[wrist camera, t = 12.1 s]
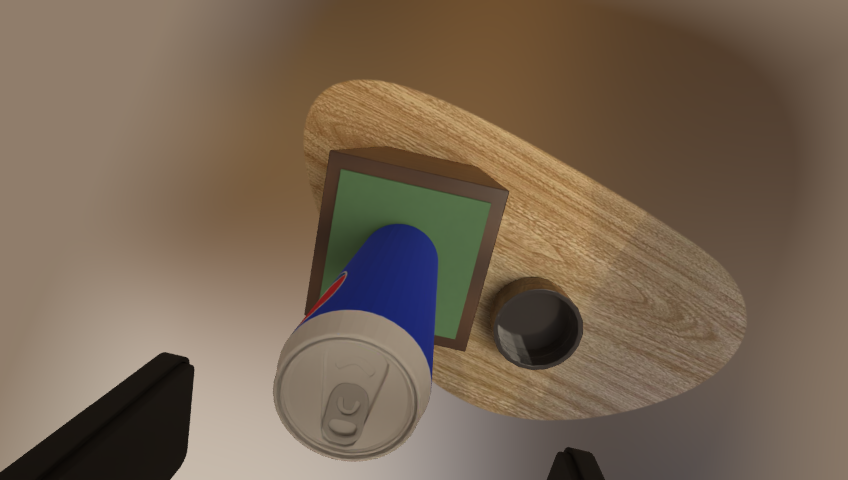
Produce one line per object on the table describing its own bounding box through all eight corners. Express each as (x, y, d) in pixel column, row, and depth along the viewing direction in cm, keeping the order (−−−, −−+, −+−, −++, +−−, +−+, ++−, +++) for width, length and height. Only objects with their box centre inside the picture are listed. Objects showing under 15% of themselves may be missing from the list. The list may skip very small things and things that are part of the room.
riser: (385, 146, 50) (329, 149, 25) (478, 167, 50) (509, 190, 25) (368, 235, 53) (303, 315, 28) (455, 255, 53) (465, 352, 28)
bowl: (501, 268, 53) (506, 280, 48) (582, 287, 53) (594, 300, 48) (480, 342, 56) (483, 359, 51) (557, 359, 56) (567, 378, 51)
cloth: (342, 168, 26) (340, 169, 25) (490, 202, 26) (491, 203, 25) (319, 306, 28) (317, 308, 28) (454, 336, 28) (455, 339, 28)
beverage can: (371, 213, 26) (277, 304, 11) (447, 232, 26) (449, 348, 11) (355, 284, 27) (253, 447, 13) (427, 302, 27) (407, 486, 13)
